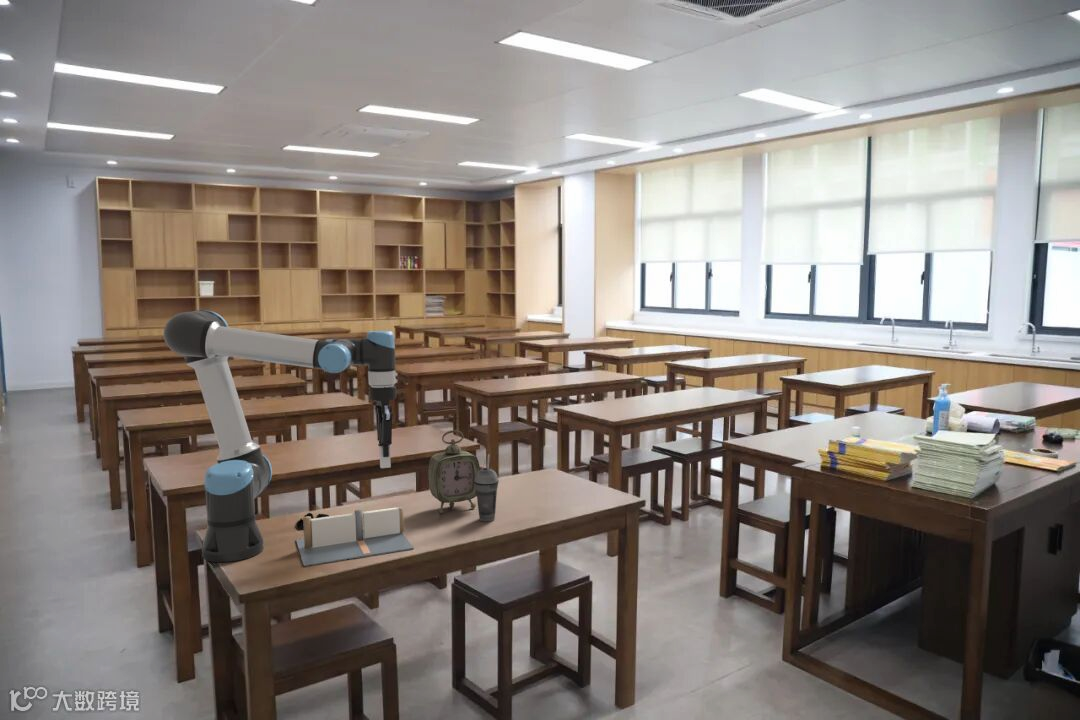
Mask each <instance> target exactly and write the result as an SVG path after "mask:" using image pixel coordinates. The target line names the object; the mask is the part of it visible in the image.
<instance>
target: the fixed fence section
mask: <svg viewBox="0 0 1080 720" xmlns="http://www.w3.org/2000/svg"><path fill="white" fill-rule="evenodd" d="M302 520H303V525H304V530H303V538H304V546H305V548H311V547H317V546H324V545H330V544H337V543H344V542H350V541H356V540H357V541H361V540H363V509H355V510H354V513H346V514H345V513H344V514H338V515H331V516H330V515H329V517H322V518H316V517H314V519H311V517H310V516H306V517H304V516H303V518H302Z"/></svg>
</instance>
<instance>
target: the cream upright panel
mask: <svg viewBox="0 0 1080 720" xmlns="http://www.w3.org/2000/svg"><path fill="white" fill-rule="evenodd" d="M404 515H405V514H404V507H403V506H397V507H389V508H383V509H381V508H380V509H375V510H367V511H362V519H363V531H364V538H370V537H377V536H383V535H390V534H397V533H403V534H404V533H405V520H404V519H405V518H404Z"/></svg>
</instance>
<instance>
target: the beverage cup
mask: <svg viewBox="0 0 1080 720" xmlns="http://www.w3.org/2000/svg"><path fill="white" fill-rule="evenodd" d="M486 462H487V464H486V467H485V468H482V469H481V468H480V471H479V472H478V473H477V474H476V477H475V482H474V483H475V488H476V492H477V496H476V497H477V498H476V499H477V508H478V516H479V517H478V518H479V521H480V520H481V522H483V521H490V522H493V520H494V519H496V510H497V509H496V508H497V495H498V486H499V483H500V481H499V480H500V479H499V476H498V474H497V472H496V471H495V470H494V469H492V468H490V453H489V454H487V460H486ZM494 521H495V520H494Z"/></svg>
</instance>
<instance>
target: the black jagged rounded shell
mask: <svg viewBox="0 0 1080 720" xmlns="http://www.w3.org/2000/svg"><path fill="white" fill-rule="evenodd" d="M306 516H310V517H311V519H314V518H322V517H329V516H330V515H329V514H324V513H318V514H317V515H316V516H314V514H313V513H311V512H308V513H306V514H305V515H304V516H303V517H306ZM295 527H296V530H297V532H300V531H304V525H303V518H302V517H301V518H300V519H299V520H297V522H296V523H295Z"/></svg>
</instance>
